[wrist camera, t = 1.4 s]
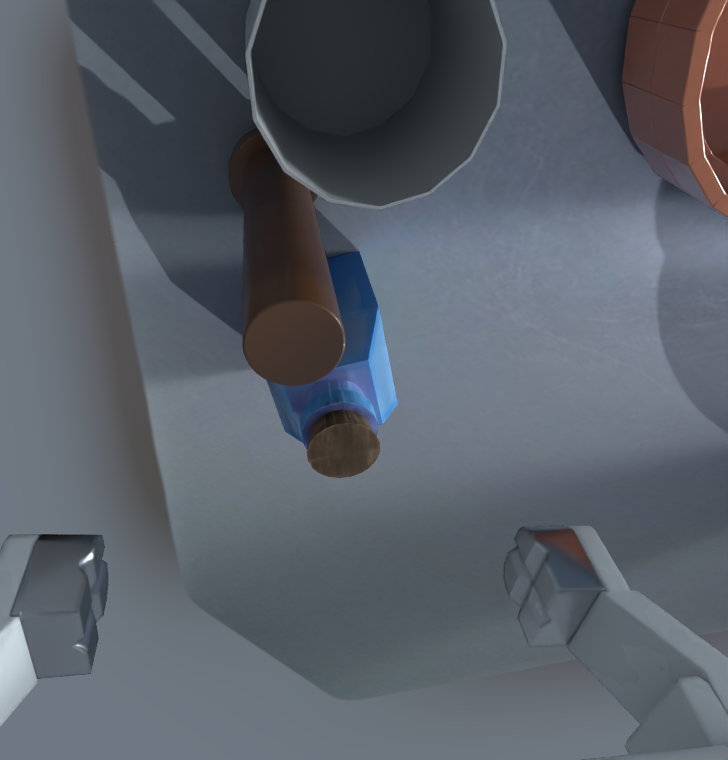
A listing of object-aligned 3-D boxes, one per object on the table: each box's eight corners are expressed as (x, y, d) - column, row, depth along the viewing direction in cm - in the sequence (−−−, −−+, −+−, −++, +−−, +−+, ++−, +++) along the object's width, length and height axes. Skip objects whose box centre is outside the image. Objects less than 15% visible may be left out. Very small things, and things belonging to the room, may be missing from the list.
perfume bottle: (377, 341, 37) (422, 482, 28) (280, 365, 37) (291, 514, 28) (358, 250, 34) (403, 378, 24) (250, 277, 34) (252, 415, 24)
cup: (454, -50, 26) (545, -40, 18) (407, 146, 31) (464, 222, 23) (255, -102, 24) (259, -118, 16) (237, 116, 29) (234, 188, 21)
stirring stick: (210, 172, 30) (185, 352, 17) (270, 104, 28) (290, 245, 16) (277, 230, 32) (298, 426, 19) (336, 170, 31) (399, 339, 18)
